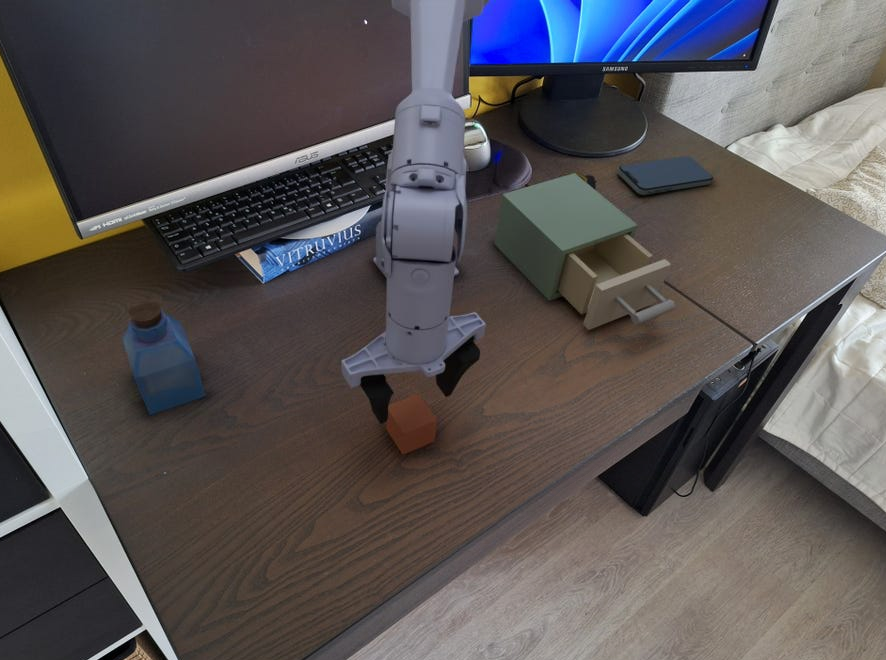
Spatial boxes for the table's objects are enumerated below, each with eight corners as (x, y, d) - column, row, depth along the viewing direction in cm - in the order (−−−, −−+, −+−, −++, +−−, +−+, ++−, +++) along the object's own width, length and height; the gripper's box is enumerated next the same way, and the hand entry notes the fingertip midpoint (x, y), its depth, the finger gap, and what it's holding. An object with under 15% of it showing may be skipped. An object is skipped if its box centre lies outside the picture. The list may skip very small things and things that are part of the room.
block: (402, 455, 72) (403, 433, 69) (385, 428, 74) (386, 406, 71) (434, 441, 74) (437, 419, 71) (417, 415, 76) (418, 393, 73)
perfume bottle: (191, 359, 79) (168, 282, 70) (206, 396, 76) (183, 320, 67) (137, 376, 77) (106, 299, 68) (149, 414, 74) (118, 339, 65)
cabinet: (620, 274, 95) (638, 225, 88) (549, 301, 90) (562, 250, 84) (562, 222, 102) (574, 172, 96) (493, 244, 98) (502, 193, 91)
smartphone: (716, 178, 111) (642, 189, 106) (712, 186, 112) (639, 198, 108) (689, 154, 116) (617, 164, 111) (685, 163, 117) (614, 173, 112)
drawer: (679, 325, 87) (698, 286, 82) (612, 354, 83) (627, 315, 78) (595, 250, 97) (607, 210, 92) (532, 272, 92) (541, 232, 87)
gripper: (364, 364, 55) (366, 458, 65) (510, 310, 60) (491, 404, 70) (329, 310, 59) (335, 406, 69) (468, 264, 64) (456, 359, 74)
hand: (412, 402), depth 70 cm, fingers open, 7 cm apart
